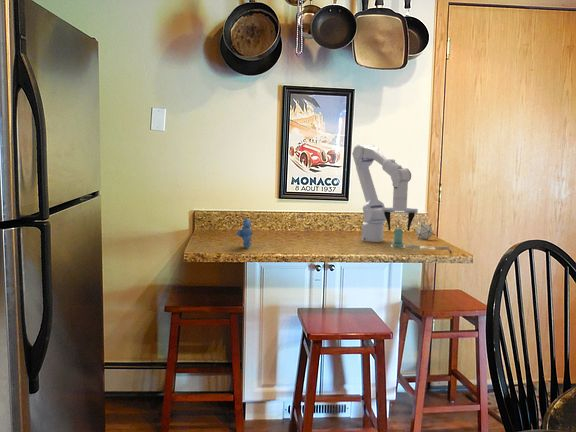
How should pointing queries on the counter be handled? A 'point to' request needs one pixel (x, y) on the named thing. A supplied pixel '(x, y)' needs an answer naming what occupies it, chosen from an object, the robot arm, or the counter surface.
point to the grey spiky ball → (424, 231)
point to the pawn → (398, 238)
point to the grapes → (245, 233)
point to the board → (426, 247)
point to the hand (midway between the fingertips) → (398, 230)
